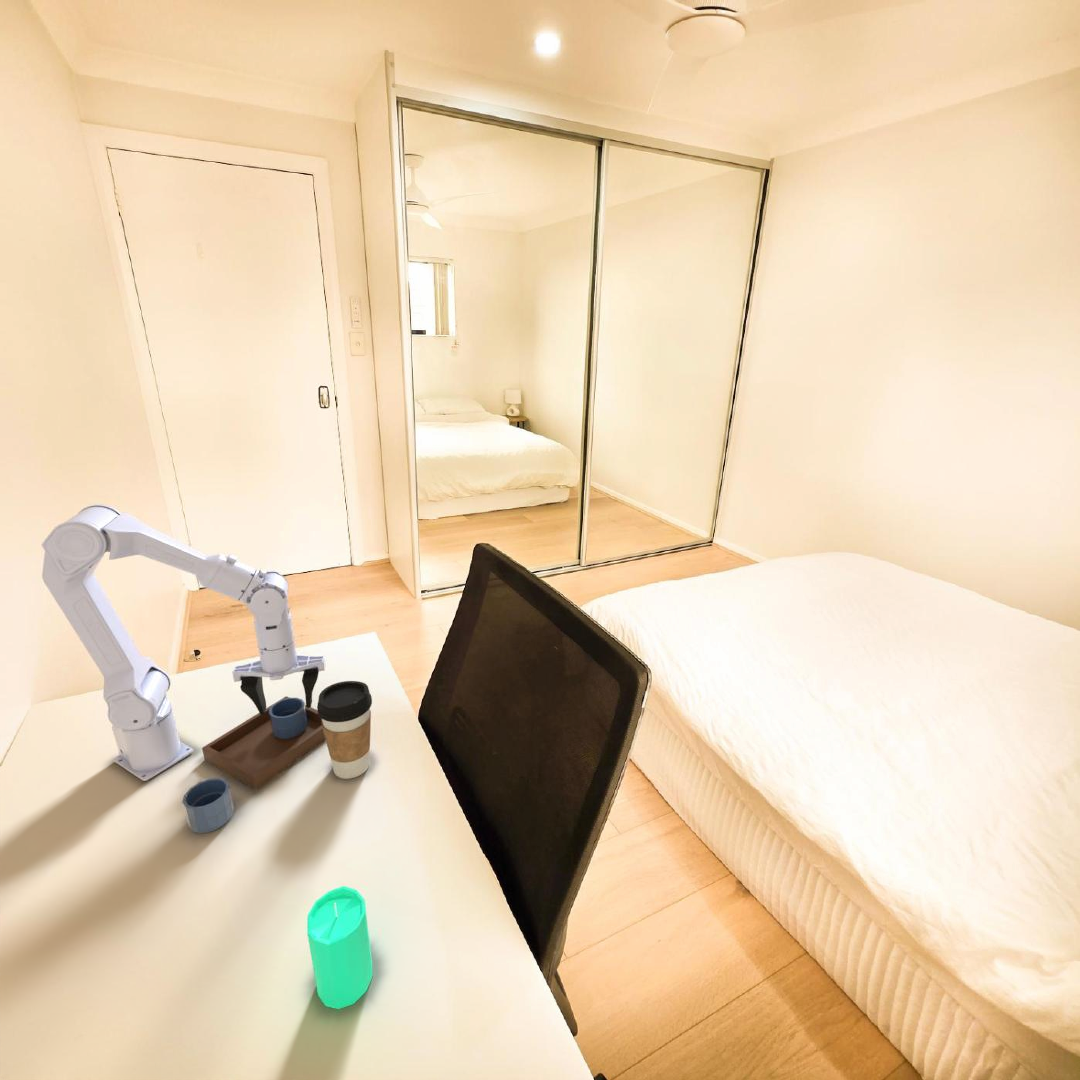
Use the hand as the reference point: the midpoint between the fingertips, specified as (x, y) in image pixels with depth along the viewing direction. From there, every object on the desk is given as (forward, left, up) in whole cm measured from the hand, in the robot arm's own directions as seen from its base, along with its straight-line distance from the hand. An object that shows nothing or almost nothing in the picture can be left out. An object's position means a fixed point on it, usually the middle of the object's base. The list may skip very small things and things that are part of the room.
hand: (286, 707), depth 96 cm
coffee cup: (+16, 0, -6) cm, 17 cm away
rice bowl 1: (+6, -18, -6) cm, 20 cm away
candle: (+40, -24, -6) cm, 47 cm away
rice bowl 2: (0, 0, -5) cm, 5 cm away
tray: (0, -3, -6) cm, 7 cm away
